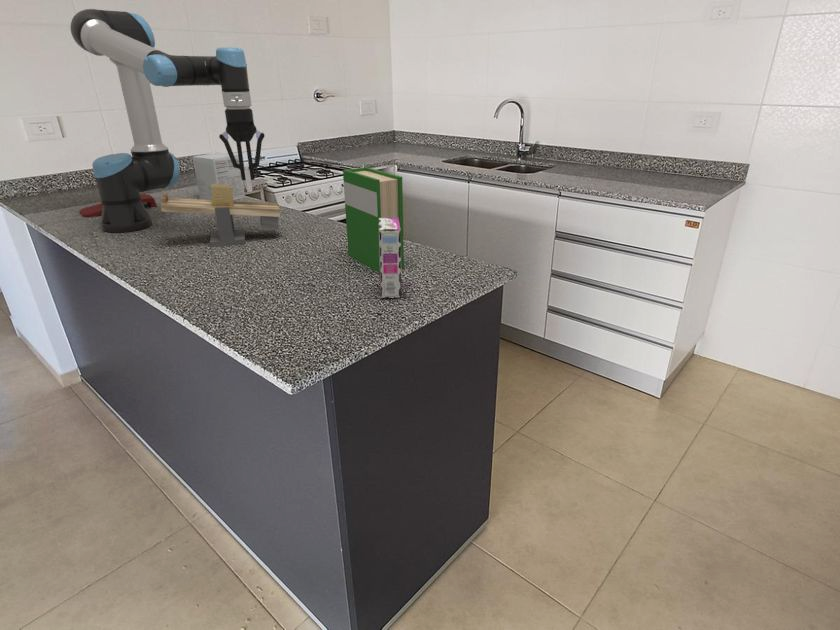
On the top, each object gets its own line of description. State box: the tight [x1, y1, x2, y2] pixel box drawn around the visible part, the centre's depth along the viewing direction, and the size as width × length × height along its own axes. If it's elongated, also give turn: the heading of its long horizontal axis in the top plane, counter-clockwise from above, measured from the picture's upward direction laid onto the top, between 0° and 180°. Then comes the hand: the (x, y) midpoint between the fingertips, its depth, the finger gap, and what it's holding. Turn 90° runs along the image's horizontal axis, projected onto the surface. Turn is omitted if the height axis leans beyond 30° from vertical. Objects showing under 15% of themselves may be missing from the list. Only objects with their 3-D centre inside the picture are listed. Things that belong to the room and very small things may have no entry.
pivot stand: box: [209, 207, 246, 248], centre depth 160 cm, size 12×10×12 cm
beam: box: [160, 193, 281, 230], centre depth 158 cm, size 10×33×8 cm, turn 108°
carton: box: [79, 193, 158, 218], centre depth 199 cm, size 12×5×25 cm
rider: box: [211, 184, 234, 207], centre depth 157 cm, size 5×6×6 cm
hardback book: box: [342, 167, 405, 274], centre depth 138 cm, size 18×7×24 cm, turn 34°
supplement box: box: [191, 152, 246, 201], centre depth 213 cm, size 13×13×18 cm
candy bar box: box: [379, 218, 402, 299], centre depth 121 cm, size 11×5×16 cm, turn 5°
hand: (249, 190), depth 158 cm, fingers closed
